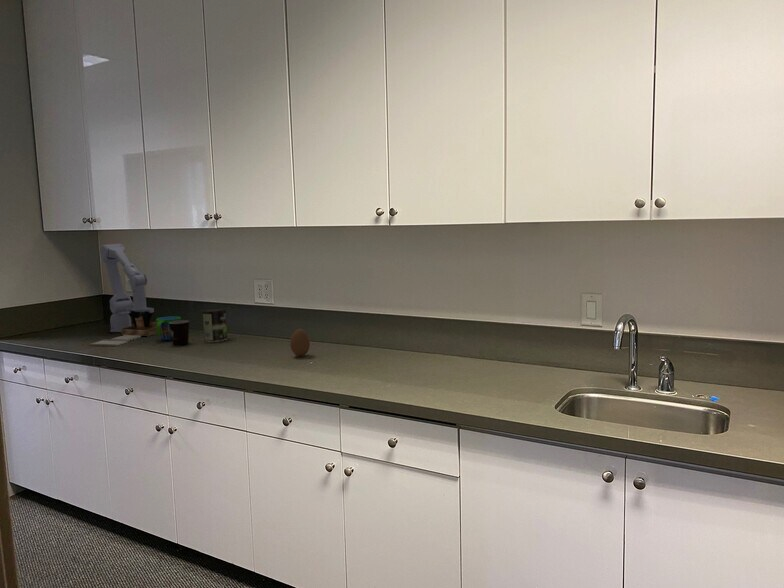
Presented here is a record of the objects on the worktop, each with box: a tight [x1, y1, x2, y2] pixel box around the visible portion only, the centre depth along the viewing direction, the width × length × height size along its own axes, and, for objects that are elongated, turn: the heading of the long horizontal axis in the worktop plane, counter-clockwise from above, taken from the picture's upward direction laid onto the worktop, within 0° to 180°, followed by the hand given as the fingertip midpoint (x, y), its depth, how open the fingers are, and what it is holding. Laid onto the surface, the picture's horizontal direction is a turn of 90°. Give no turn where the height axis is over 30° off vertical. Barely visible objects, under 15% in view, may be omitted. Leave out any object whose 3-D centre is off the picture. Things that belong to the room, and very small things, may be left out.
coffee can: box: [201, 307, 228, 343], centre depth 279 cm, size 10×10×14 cm
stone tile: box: [110, 335, 142, 342], centre depth 288 cm, size 9×9×1 cm
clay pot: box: [135, 316, 148, 330], centre depth 299 cm, size 6×6×6 cm
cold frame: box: [120, 321, 157, 338], centre depth 300 cm, size 16×11×5 cm
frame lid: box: [88, 339, 130, 347], centre depth 279 cm, size 14×9×1 cm, turn 75°
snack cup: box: [155, 315, 182, 342], centre depth 284 cm, size 16×10×10 cm
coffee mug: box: [169, 319, 190, 346], centre depth 271 cm, size 12×9×10 cm
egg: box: [289, 328, 311, 357], centre depth 242 cm, size 8×8×11 cm
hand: (141, 326), depth 299 cm, fingers closed on clay pot, 5 cm apart
